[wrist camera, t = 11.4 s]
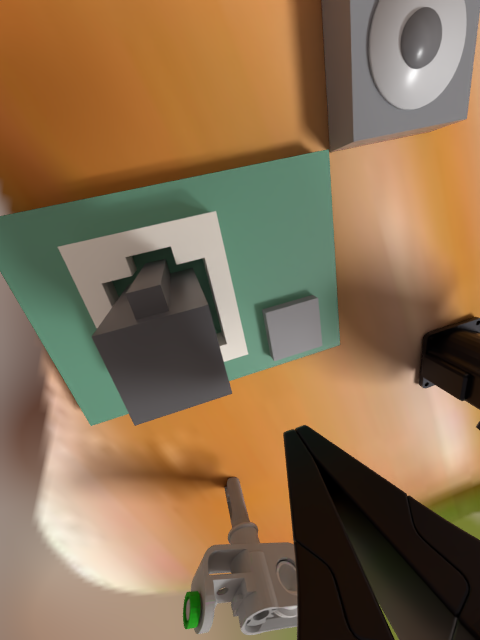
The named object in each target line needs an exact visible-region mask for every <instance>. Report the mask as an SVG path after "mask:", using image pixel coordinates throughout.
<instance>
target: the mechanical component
mask: <svg viewBox="0 0 480 640" xmlns="http://www.w3.org/2000/svg"><path fill="white" fill-rule="evenodd" d="M225 493H226V498H227V503H228V508H229V513H230V519H231V524H232V529H231V530H230V532H229V534H228V541H229V543H230V544H226V545H213V546H211V547H210V548H209V549H208V550H207V551H206V553H205V555H204V557H203V559H202V561H201V563H200V565H199V567H198V569H197V572H196V574H195V576H194V578H193V581H192V585H191V592H187V593H186V596H185V600H184V608H183V621H184V627H185V629H190V628H194V630H195V632H196V633H197V634H200V633H207V632H208V631H209V630H210V628H211V626H212V622H213V617H214V609H215V607H216V605H217V603H225V602H231V607H232V610H233V616H239V622H240V627H241V631H242V632H243V633H244V634H247V635H254V634H259V633H262V632H265V631H271V630H278V629H284V628H289V627H296V626H297V579H296V564H295V553H294V545H293V544H291V543H260V542H259V538H258V534H257V533H258V528H257V526H256V525H255V524H254V523H252V522H250V521H249V518H248V514H247V510H246V506H245V502H244V498H243V494H242V490H241V486H240V482H239V479H238V478H236V477H231V478H229V479H228V481H227V487H225ZM227 572H231V573H232V574H220V575H209V574H213V573H227ZM224 587H225V588H224ZM221 588H224V589H222V590H219V589H221Z"/></svg>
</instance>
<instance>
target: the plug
mask: <svg viewBox="0 0 480 640" xmlns="http://www.w3.org/2000/svg"><path fill="white" fill-rule="evenodd" d="M92 339H93V341H94V343H95V345H96V347H97V349H98V351H99V353H100V356H101V358H102V360H103V362H104V364H105V366H106V368H107V370H108V372H109V374H110V376H111V378H112V380H113V382H114V384H115V386H116V388H117V390H118V392H119V394H120V396H121V398H122V401H123V403H124V405H125V407H126V409H127V411H128V413H129V415H130V417H131V419H132V421H133V423H134V425H138V424H141V423H144V422H148V421H151V420H154V419H157V418H160V417H163V416H166V415H169V414H172V413H175V412H178V411H181V410H184V409H187V408H190V407H193V406H196V405H199V404H202V403H205V402H208V401H211V400H214V399H217V398H220V397H223V396H226V395H230V394H232V391H231V387H230V383H229V380H228V376H227V372H226V368H225V365H224V361H223V357H222V354H221V350H220V346H219V342H218V339H217V335H216V331H215V328H214V324H213V320H212V316H211V313H210V309H209V305H208V303H207V300H206V298H205V296H204V293H203V291H202V289H201V286H200V284H199V282H198V279H197V277H196V275H195V272H194V270H193V268H190V269H186V270H182V271H178V272H174V273H170V271H169V268H168V264H167V261H166V259H162V260H158V261H154V262H149V263H145V265H144V266H143V268H142V269H141V271H140V272H139V274H138V275H137V277H136V278H135V280H134V281H133V283H130V284H128V286H127V287H126V289H125V290H124V291H123V293H122V294H121V296H120V297H119V298H118V300H117V301H116V303H115V304H114V305H113V307H112V308H111V310H110V311H109V313H108V314H107V315H106V317H105V318H104V320H103V321H102V322H101V324H100V325H99V327H98V328H97V329H96V331H95V332H94V334H93V335H92Z"/></svg>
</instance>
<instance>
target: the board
mask: <svg viewBox="0 0 480 640" xmlns="http://www.w3.org/2000/svg"><path fill="white" fill-rule="evenodd" d="M162 259H166V261H167V264H168V268H169V271H170V273H174V272H178V271H182V270H186V269H190V268H193V270H194V272H195V275H196V277H197V279H198V282H199V284H200V286H201V289H202V291H203V293H204V296H205V298H206V300H207V303H208V305H209V309H210V313H211V316H212V320H213V324H214V328H215V331H216V335H217V339H218V342H219V346H220V350H221V354H222V357H223V361H224V365H225V368H226V372H227V376H228V380H229V381H231V380H234V379H237V378H240V377H243V376H246V375H249V374H252V373H255V372H258V371H262V370H265V369H268V368H271V367H274V366H277V365H280V364H283V363H286V362H289V361H292V360H295V359H298V358H302V357H305V356H308V355H311V354H314V353H317V352H320V351H323V350H326V349H329V348H332V347H335V346H339V345H340V333H339V316H338V299H337V282H336V264H335V247H334V230H333V213H332V195H331V178H330V161H329V149H328V150H323V151H318V152H313V153H308V154H303V155H298V156H293V157H289V158H284V159H279V160H274V161H269V162H264V163H259V164H254V165H249V166H244V167H239V168H235V169H230V170H225V171H220V172H215V173H210V174H205V175H200V176H195V177H190V178H185V179H181V180H176V181H171V182H166V183H161V184H156V185H151V186H146V187H141V188H136V189H131V190H127V191H122V192H117V193H112V194H107V195H102V196H97V197H92V198H87V199H82V200H78V201H73V202H68V203H63V204H58V205H53V206H48V207H43V208H38V209H33V210H28V211H24V212H19V213H14V214H9V215H4V216H0V272H1V274H2V275H3V277H4V279H5V280H6V282H7V284H8V285H9V287H10V289H11V291H12V292H13V294H14V296H15V297H16V299H17V301H18V303H19V304H20V306H21V308H22V309H23V311H24V313H25V314H26V316H27V318H28V320H29V321H30V323H31V325H32V326H33V328H34V330H35V331H36V333H37V335H38V337H39V338H40V340H41V342H42V343H43V345H44V347H45V349H46V350H47V352H48V354H49V355H50V357H51V359H52V361H53V362H54V364H55V366H56V367H57V369H58V371H59V372H60V374H61V376H62V378H63V379H64V381H65V383H66V384H67V386H68V388H69V389H70V391H71V393H72V395H73V396H74V398H75V400H76V401H77V403H78V405H79V407H80V408H81V410H82V412H83V413H84V415H85V417H86V418H87V420H88V422H89V424H90V425H91V426H92V425H95V424H98V423H101V422H105V421H108V420H111V419H114V418H117V417H120V416H123V415H126V414H129V413H128V411H127V409H126V407H125V405H124V403H123V401H122V398H121V396H120V394H119V392H118V390H117V388H116V386H115V384H114V382H113V380H112V378H111V376H110V374H109V372H108V370H107V368H106V366H105V364H104V362H103V360H102V358H101V356H100V353H99V351H98V349H97V347H96V345H95V343H94V341H93V339H92V335H93V334H94V332H95V331H96V329H97V328H98V327H99V325H100V324H101V322H102V321H103V320H104V318H105V317H106V315H107V314H108V313H109V311H110V310H111V308H112V307H113V305H114V304H115V303H116V301H117V300H118V298H119V297H120V296H121V294H122V293H123V291H124V290H125V289H126V287H127V286H128V284H130V283H133V281H134V280H135V278H136V277H137V275H138V274H139V272H140V271H141V269H142V268H143V266H144V265H145V263H149V262H154V261H158V260H162Z"/></svg>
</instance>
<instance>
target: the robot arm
mask: <svg viewBox="0 0 480 640" xmlns="http://www.w3.org/2000/svg"><path fill="white" fill-rule="evenodd" d="M419 385H420V386H421V387H423V388H428V387H431V386H433V385H436V386H438V387H440V388H441V389H443V390H444V391H446V392H448V393H449V394H451V395H452V396H454V397H456V398H457V399H459V400H461V401H464V400H465V401H466V402H468V403H470V404H471V405H473V406H475V407H476V408H478V409H479V410H480V318H478V317H474V318H471V319H468V320H465V321H462V322H459V323H456V324H453V325H450V326H447V327H444V328H441V329H438V330H435V331H432V332H429V333H427V334H426V335H425V336H424V338H423V349H422V360H421V371H420V382H419ZM476 427H477V428H478V429H479V430H480V422H479V423H478V424H477V426H476ZM283 437H284V447H285V457H286V468H287V478H288V489H289V499H290V509H291V520H292V530H293V540H294V553H295V564H296V579H297V640H394V637H393V635H392V633H391V630H390V628H389V626H388V624H387V622H386V620H385V617H384V615H383V613H382V610H383V611H384V613H385V615H386V617H387V618H388V620H389V622H390V624H391V626H392V628H393V629H394V631H395V633H396V634H397V636H398V638H399V640H480V540H479V539H477V538H475V537H474V536H472V535H470V534H468V533H467V532H465V531H463V530H462V529H460V528H458V527H457V526H455V525H454V524H452V523H450V522H449V521H447V520H445V519H444V518H442V517H441V516H439V515H438V514H436V513H435V512H433V511H432V510H430V509H428V508H427V507H425V506H424V505H422V504H421V503H419V502H418V501H417V500H415V499H414V498H412V497H411V496H407V494H406V493H405V492H403V491H402V490H400V489H399V488H397V487H396V486H395V485H393V484H392V483H390V482H389V481H387V480H386V479H384V478H383V477H381V476H380V475H378V474H377V473H376V472H374V471H373V470H371V469H370V468H368V467H367V466H365V465H364V464H362V463H361V462H359V461H358V460H357V459H355V458H354V457H352V456H351V455H349V454H348V453H346V452H345V451H343V450H342V449H340V448H339V447H338V446H336V445H335V444H333V443H332V442H330V441H329V440H327V439H326V438H324V437H323V436H321V435H320V434H319V433H317V432H316V431H314V430H313V429H311V428H310V427H308V426H306V425H303V426H300V427H298V428H296V429H295V430H294V429H292V430H289V431H286V432H284V433H283ZM378 603H379V604H378ZM379 605H380V606H381V608H382V610H381V608H380V606H379Z"/></svg>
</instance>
